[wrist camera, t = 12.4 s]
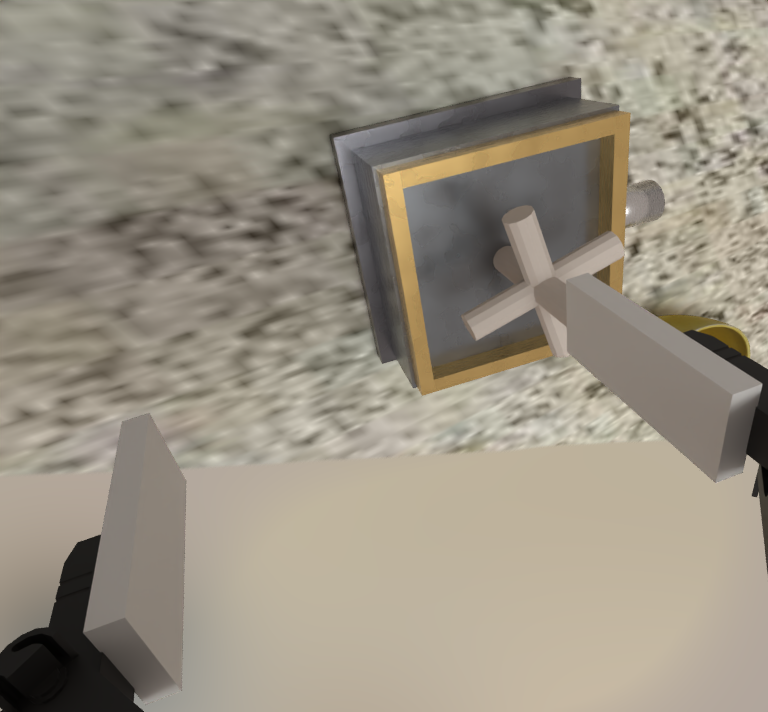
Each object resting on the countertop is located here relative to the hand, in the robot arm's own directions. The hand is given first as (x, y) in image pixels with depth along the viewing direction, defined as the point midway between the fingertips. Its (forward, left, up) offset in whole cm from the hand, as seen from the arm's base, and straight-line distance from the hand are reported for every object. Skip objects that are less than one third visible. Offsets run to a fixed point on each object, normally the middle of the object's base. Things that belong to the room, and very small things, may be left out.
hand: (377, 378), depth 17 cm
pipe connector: (+6, +13, -19) cm, 24 cm away
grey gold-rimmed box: (+6, +15, -26) cm, 31 cm away
